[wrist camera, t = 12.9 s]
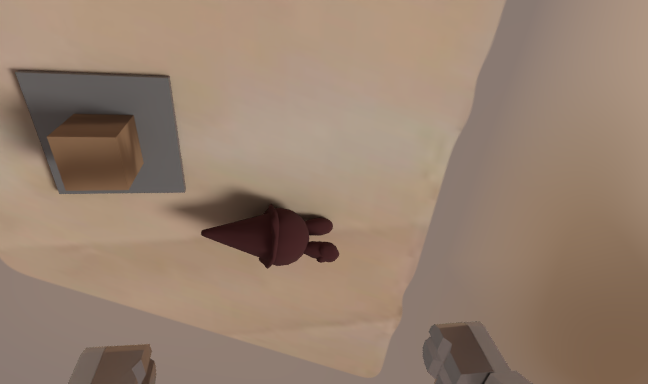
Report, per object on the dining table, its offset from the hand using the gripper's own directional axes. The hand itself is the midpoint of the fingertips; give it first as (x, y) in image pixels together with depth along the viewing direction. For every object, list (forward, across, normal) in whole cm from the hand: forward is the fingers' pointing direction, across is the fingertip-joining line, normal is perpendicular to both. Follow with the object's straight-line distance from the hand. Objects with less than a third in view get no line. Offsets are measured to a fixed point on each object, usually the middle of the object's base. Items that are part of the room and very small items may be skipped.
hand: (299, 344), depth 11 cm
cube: (+28, +15, +7) cm, 32 cm away
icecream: (+28, 0, +17) cm, 33 cm away
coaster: (+28, +15, +7) cm, 33 cm away
